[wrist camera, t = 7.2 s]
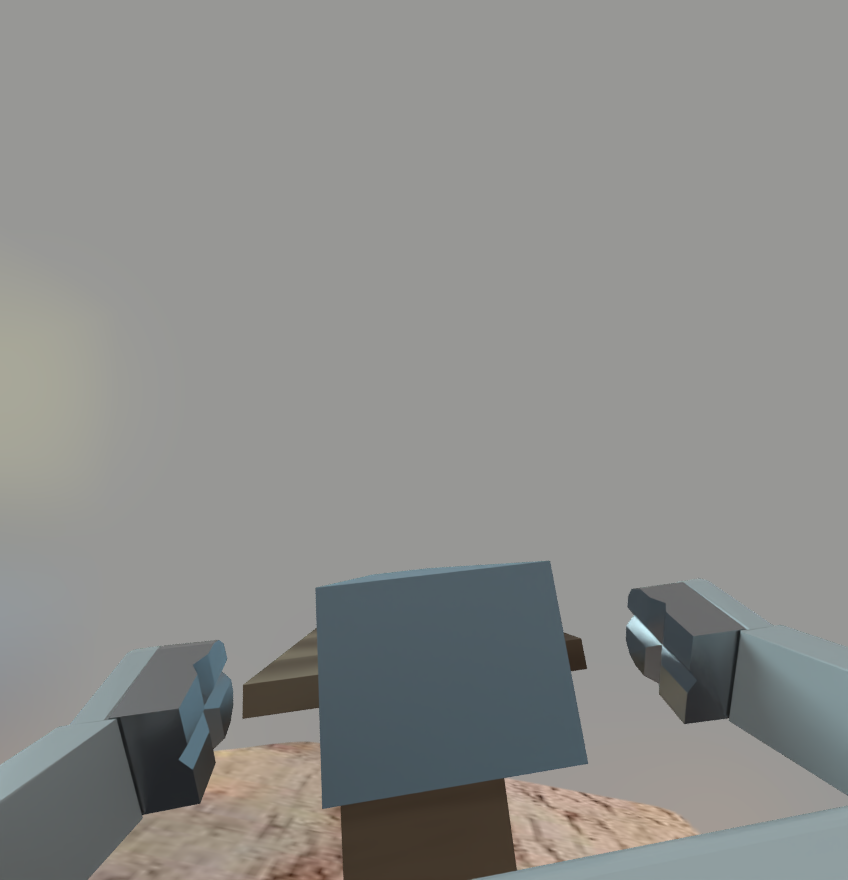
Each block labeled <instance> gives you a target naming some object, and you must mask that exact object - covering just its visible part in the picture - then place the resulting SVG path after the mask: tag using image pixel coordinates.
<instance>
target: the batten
mask: <svg viewBox="0 0 848 880" xmlns="http://www.w3.org/2000/svg"><path fill="white" fill-rule="evenodd" d="M316 617H317V651H318V683H319V715H320V748H321V780H322V809H325V808H330V807H336V806H342V805H348V804H354V803H360V802H366V801H372V800H377V799H383V798H389V797H395V796H401V795H407V794H413V793H419V792H424V791H430V790H436V789H442V788H448V787H454V786H460V785H466V784H471V783H477V782H483V781H489V780H495V779H501V778H507V777H513V776H519V775H524V774H530V773H536V772H542V771H548V770H554V769H559V768H566V767H571V766H577V765H583V764H588V761H587V755H586V750H585V744H584V739H583V734H582V729H581V724H580V718H579V712H578V707H577V702H576V696H575V691H574V686H573V681H572V675H571V670H570V665H569V659H568V654H567V649H566V643H565V638H564V633H563V627H562V622H561V617H560V612H559V607H558V601H557V596H556V590H555V585H554V580H553V574H552V570H551V564H550V561H538V562H522V563H507V564H491V565H475V566H458V567H442V568H427V569H419V570H410V571H401V572H392V573H384V574H375V575H369V576H365V577H361V578H356V579H352V580H348V581H344V582H339V583H334V584H330V585H326V586H322V587H317V588H316Z"/></svg>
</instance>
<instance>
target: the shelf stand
mask: <svg viewBox="0 0 848 880" xmlns="http://www.w3.org/2000/svg"><path fill="white" fill-rule="evenodd" d="M563 633H564V632H563ZM564 638H565V643H566V649H567V654H568V659H569V665H570V670H571V671H576V670H582V669H587V666H586V661H585V656H584V651H583V645H582V640H581V638H578V637H575V636H572V635H569V634H567V633H564ZM313 708H319V683H318V651H317V628H316V629H315V630H313V631H312V632H311V633H309V634H308V635H307V636H306V637H304V638H303V639H302V640H300V641H299V642H298V643H297V644H295V645H294V646H293V647H291V648H290V649H289V650H288V651H286V652H285V653H284V654H283V655H281V656H280V657H279V658H277V659H276V660H275V661H273V662H272V663H271V664H269V665H268V666H267V667H266V668H264V669H263V670H262V671H260V672H259V673H258V674H257V675H255V676H254V677H253V678H251V679H250V680H249V681H248V682H246V683H245V684H244V685H243V719H244V718H251V717H258V716H264V715H271V714H279V713H286V712H293V711H300V710H306V709H313ZM341 828H342V853H343V877H344V880H471V879H477V878H482V877H487V876H492V875H497V874H502V873H507V872H512V871H517V868H516V861H515V854H514V846H513V839H512V832H511V825H510V817H509V810H508V803H507V795H506V788H505V781H504V778H501V779H495V780H489V781H483V782H477V783H471V784H466V785H460V786H454V787H448V788H442V789H436V790H430V791H424V792H419V793H413V794H407V795H401V796H395V797H389V798H383V799H377V800H372V801H366V802H360V803H354V804H348V805H342V806H341Z"/></svg>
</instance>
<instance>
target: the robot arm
mask: <svg viewBox="0 0 848 880" xmlns="http://www.w3.org/2000/svg"><path fill="white" fill-rule="evenodd" d="M628 608H629V610H630V611H631V612H632V613H633V615H634V616H633V617H632V619H631V620H630V622H629V623H628V625H627V626H626V642H627V646H628V649H629V653H630V655H631V658H632V659H633V661H634V663H635V665H636V666H637V668H638V669H639V670H640V671H641V672H642V674H643V675H644V676H646V677H647V678H649V679H651V680H653V681H655V682H657V683H659V695H660V696H661V697H662V698H663V699H664V700H665V702H666V703H667V704H668V705H669V706H670V707H671V709H672V710H673V711H674V712H675V714H676V715H677V716H678V717H679V718H680V720H681V721H682V722H683V723H684V724H688V723H696V722H704V721H711V720H719V719H727V718H729V721H730V722H732V723H733V724H735V725H736V726H738V727H739V728H741V729H743V730H744V731H746V732H747V733H749V734H751V735H752V736H754V737H755V738H757V739H758V740H760V741H762V742H763V743H765V744H766V745H768V746H770V747H771V748H773V749H774V750H776V751H778V752H779V753H781V754H782V755H784V756H785V757H787V758H789V759H790V760H792V761H793V762H795V763H797V764H798V765H800V766H801V767H803V768H805V769H806V770H808V771H809V772H811V773H813V774H814V775H816V776H817V777H819V778H820V779H822V780H824V781H825V782H827V783H828V784H830V785H832V786H833V787H835V788H836V789H838V790H840V791H841V792H843V793H844V794H846V795H847V796H848V647H846V646H843V645H840V644H837V643H834V642H831V641H828V640H825V639H822V638H819V637H816V636H813V635H810V634H807V633H804V632H801V631H798V630H795V629H792V628H789V627H786V626H783V625H778V626H774V625H772V624H771V623H769V622H768V621H766V620H765V619H763V618H762V617H760V616H759V615H757V614H756V613H755V612H753V611H752V610H750V609H749V608H747V607H746V606H744V605H743V604H742V603H740V602H739V601H737V600H736V599H734V598H733V597H731V596H730V595H729V594H727V593H726V592H724V591H723V590H721V589H720V588H718V587H717V586H715V585H714V584H713V583H711V582H710V581H707V580H704V579H693V580H687V581H681V582H677V583H672V584H664V585H657V586H650V587H643V588H636V589H632V590H631V592H630V594H629V596H628ZM226 661H227V656H226V651H225V647H224V644H223V643H222V642H221V641H220V640H214V641H205V642H194V643H185V644H175V645H165V646H157V647H149V648H141V649H135V650H133V651H131V652H129V653H127V654H126V655H125V657H124V658H123V659H122V660H121V662H120V663H119V664H118V665H117V667H116V668H115V669H114V670H113V671H112V673H111V674H110V675H109V676H108V678H107V679H106V680H105V681H104V683H103V684H102V685H101V686H100V688H99V689H98V690H97V691H96V693H95V694H94V695H93V696H92V698H91V699H90V700H89V701H88V703H87V704H86V705H85V706H84V707H83V709H82V710H81V711H80V713H79V714H78V715H77V717H75V719H74V720H73V721H72V722H71V724H70V725H68V726H61V727H58V728H56V729H55V730H53V731H52V732H50V733H48V734H47V735H45V736H44V737H42V738H41V739H39V740H38V741H37V742H35V743H33V744H32V745H30V746H28V747H27V748H25V749H24V750H22V751H21V752H19V753H18V754H16V755H15V756H13V757H12V758H10V759H9V760H7V761H6V762H4V763H2V764H1V765H0V880H88V879H89V877H90V876H91V875H92V874H93V873H94V872H95V871H96V870H97V869H98V867H99V866H100V865H101V864H102V863H103V862H104V861H105V860H106V859H107V857H108V856H109V855H110V854H111V853H112V852H113V851H114V850H115V849H116V847H117V846H118V845H119V844H120V843H121V842H122V841H123V840H124V839H125V837H126V836H127V835H128V834H129V833H130V832H131V831H132V830H133V829H134V827H135V826H136V825H137V824H138V823H139V822H140V821H141V820H142V815H144V814H149V813H155V812H160V811H165V810H170V809H175V808H180V807H185V806H190V805H195V804H200V803H201V800H202V797H203V795H204V792H205V789H206V787H207V784H208V782H209V779H210V776H211V774H212V771H213V768H214V766H215V763H216V762H215V757H214V752H213V749H214V748H215V747H216V746H217V745H218V744H219V743H220V742H221V741H222V740H223V739H224V738H225V736H226V734H227V731H228V728H229V725H230V721H231V715H232V709H233V688H232V682H231V679H230V678H229V677H228V676H226V675H225V674H224V673H223V672H222V669H223V667H224V665H225V663H226ZM471 880H848V806H844V807H839V808H833V809H828V810H823V811H818V812H814V813H808V814H803V815H798V816H793V817H788V818H782V819H777V820H772V821H767V822H762V823H757V824H752V825H747V826H742V827H737V828H731V829H726V830H721V831H716V832H711V833H706V834H701V835H695V836H690V837H685V838H680V839H675V840H670V841H665V842H660V843H655V844H649V845H644V846H639V847H634V848H629V849H624V850H619V851H614V852H609V853H604V854H599V855H594V856H588V857H583V858H578V859H573V860H568V861H563V862H558V863H553V864H548V865H543V866H538V867H532V868H527V869H522V870H517V871H512V872H507V873H502V874H497V875H492V876H487V877H482V878H477V879H471Z"/></svg>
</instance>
